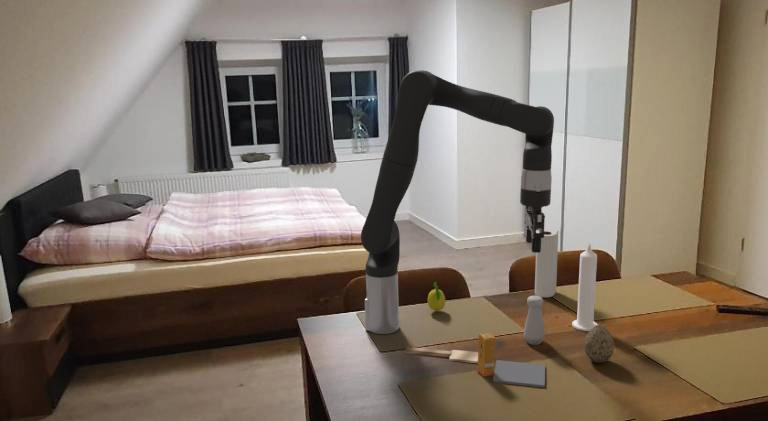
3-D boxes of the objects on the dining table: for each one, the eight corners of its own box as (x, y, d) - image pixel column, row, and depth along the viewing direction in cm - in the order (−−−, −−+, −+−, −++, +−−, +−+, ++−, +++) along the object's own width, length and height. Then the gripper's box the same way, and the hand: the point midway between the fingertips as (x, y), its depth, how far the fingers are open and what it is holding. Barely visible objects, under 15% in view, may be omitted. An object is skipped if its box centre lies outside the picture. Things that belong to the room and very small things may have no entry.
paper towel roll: (535, 297, 190) (537, 235, 185) (533, 291, 196) (535, 230, 191) (558, 298, 189) (560, 235, 184) (556, 291, 194) (558, 230, 190)
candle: (571, 329, 166) (575, 246, 160) (573, 320, 172) (576, 239, 166) (597, 333, 163) (602, 248, 157) (598, 323, 170) (603, 241, 164)
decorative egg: (577, 358, 149) (579, 322, 147) (598, 352, 152) (600, 317, 150) (597, 370, 143) (599, 333, 141) (619, 364, 146) (622, 327, 143)
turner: (404, 355, 153) (404, 352, 153) (408, 347, 158) (408, 344, 158) (480, 363, 148) (480, 360, 148) (482, 354, 153) (482, 351, 153)
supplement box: (495, 374, 142) (496, 337, 140) (483, 377, 141) (483, 339, 139) (489, 368, 145) (489, 331, 143) (476, 371, 144) (477, 334, 142)
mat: (492, 381, 139) (492, 379, 139) (496, 362, 148) (496, 360, 148) (544, 387, 136) (544, 385, 136) (544, 367, 145) (545, 365, 145)
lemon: (433, 306, 186) (433, 276, 183) (449, 309, 182) (449, 279, 180) (422, 313, 180) (422, 282, 178) (438, 317, 177) (438, 286, 175)
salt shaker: (545, 347, 156) (547, 301, 153) (523, 345, 157) (524, 300, 154) (544, 337, 161) (545, 293, 158) (522, 336, 163) (524, 292, 160)
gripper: (516, 181, 155) (514, 239, 158) (525, 192, 141) (522, 255, 145) (545, 181, 154) (542, 239, 158) (556, 192, 140) (553, 255, 144)
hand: (533, 247), depth 151 cm, fingers open, 8 cm apart
